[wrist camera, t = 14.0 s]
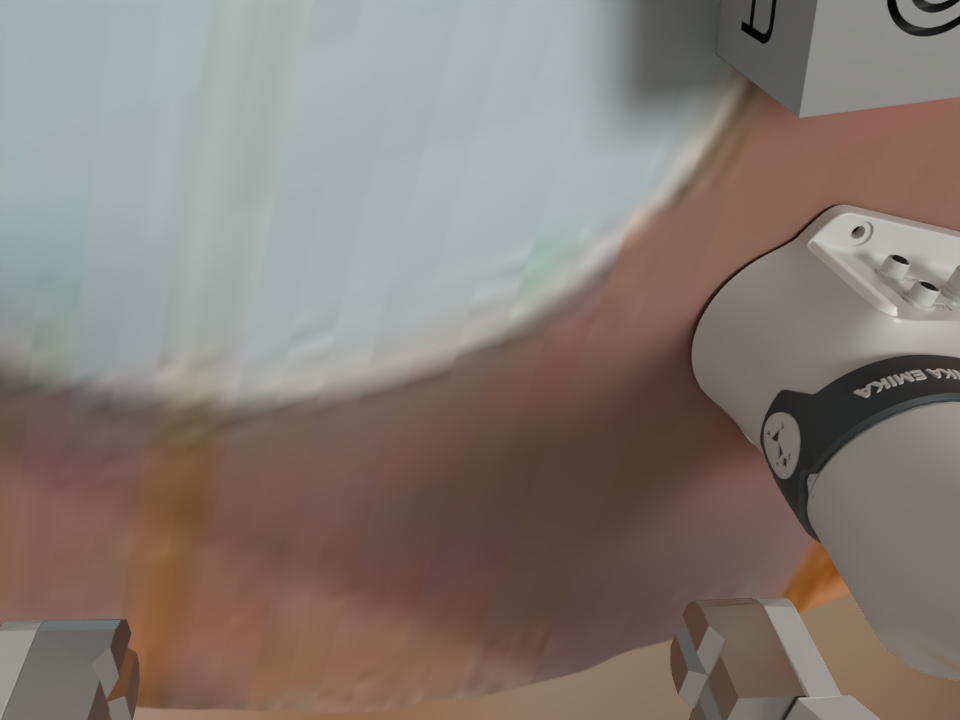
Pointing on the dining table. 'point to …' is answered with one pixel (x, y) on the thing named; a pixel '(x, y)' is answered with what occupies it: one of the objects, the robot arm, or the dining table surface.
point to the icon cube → (844, 51)
